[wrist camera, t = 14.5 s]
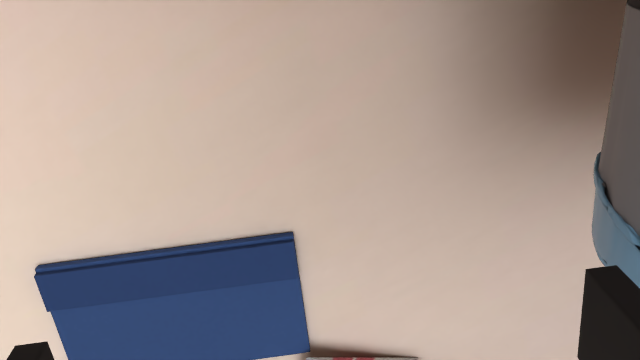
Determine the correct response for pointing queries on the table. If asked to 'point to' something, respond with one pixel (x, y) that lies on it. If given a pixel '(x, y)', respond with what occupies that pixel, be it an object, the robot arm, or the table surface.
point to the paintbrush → (334, 359)
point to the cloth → (181, 302)
